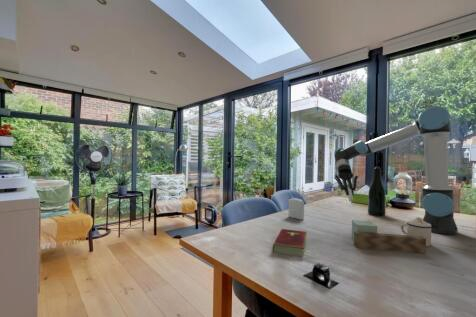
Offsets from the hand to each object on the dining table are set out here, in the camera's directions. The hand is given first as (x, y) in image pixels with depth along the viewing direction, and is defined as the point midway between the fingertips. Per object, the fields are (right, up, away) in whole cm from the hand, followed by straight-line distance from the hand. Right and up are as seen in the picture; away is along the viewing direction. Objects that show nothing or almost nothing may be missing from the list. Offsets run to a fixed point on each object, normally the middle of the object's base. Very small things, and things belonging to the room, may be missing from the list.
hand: (351, 199), depth 124 cm
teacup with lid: (+20, -16, -18) cm, 32 cm away
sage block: (-4, -16, -20) cm, 26 cm away
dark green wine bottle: (+34, -17, +34) cm, 51 cm away
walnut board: (+2, -16, -27) cm, 32 cm away
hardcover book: (-39, -16, -25) cm, 48 cm away
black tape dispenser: (-36, -16, -53) cm, 66 cm away
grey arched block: (-25, -15, +21) cm, 36 cm away
